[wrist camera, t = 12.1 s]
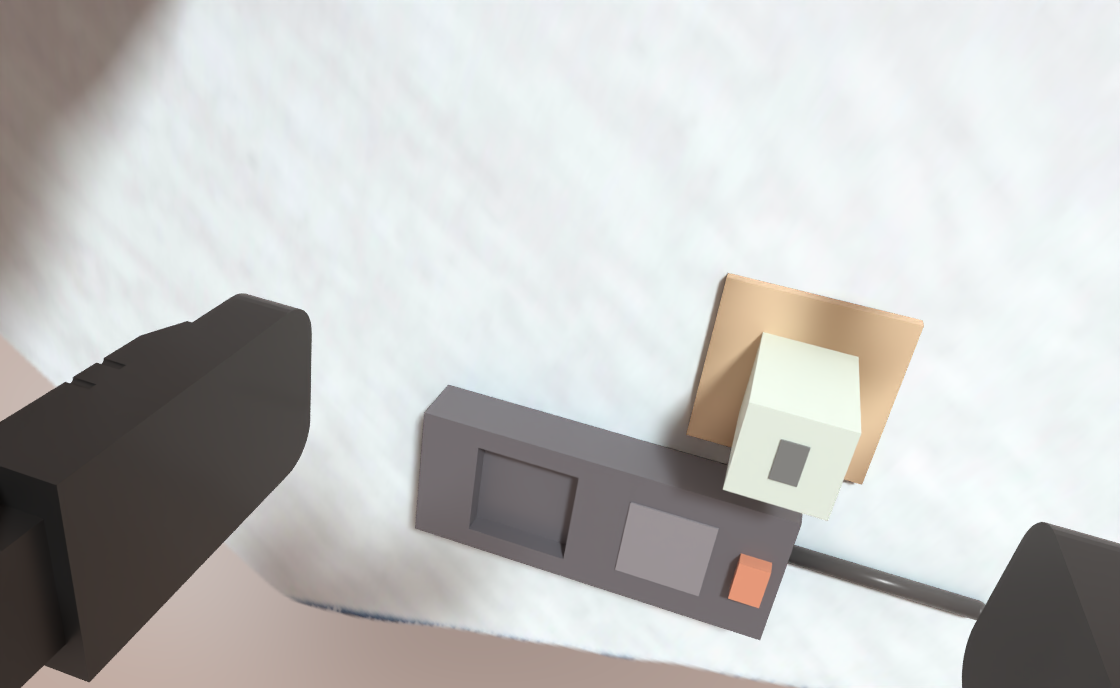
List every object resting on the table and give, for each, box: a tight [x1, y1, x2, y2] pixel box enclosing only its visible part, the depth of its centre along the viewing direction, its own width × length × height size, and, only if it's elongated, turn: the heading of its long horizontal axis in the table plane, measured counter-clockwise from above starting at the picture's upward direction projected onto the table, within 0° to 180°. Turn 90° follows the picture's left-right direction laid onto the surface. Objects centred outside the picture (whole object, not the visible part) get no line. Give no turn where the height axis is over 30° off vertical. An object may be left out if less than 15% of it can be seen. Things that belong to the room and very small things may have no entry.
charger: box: [723, 332, 861, 521], centre depth 38 cm, size 4×4×7 cm
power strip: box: [415, 385, 985, 640], centre depth 45 cm, size 30×8×4 cm, turn 82°
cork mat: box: [686, 273, 924, 484], centre depth 42 cm, size 9×9×1 cm
